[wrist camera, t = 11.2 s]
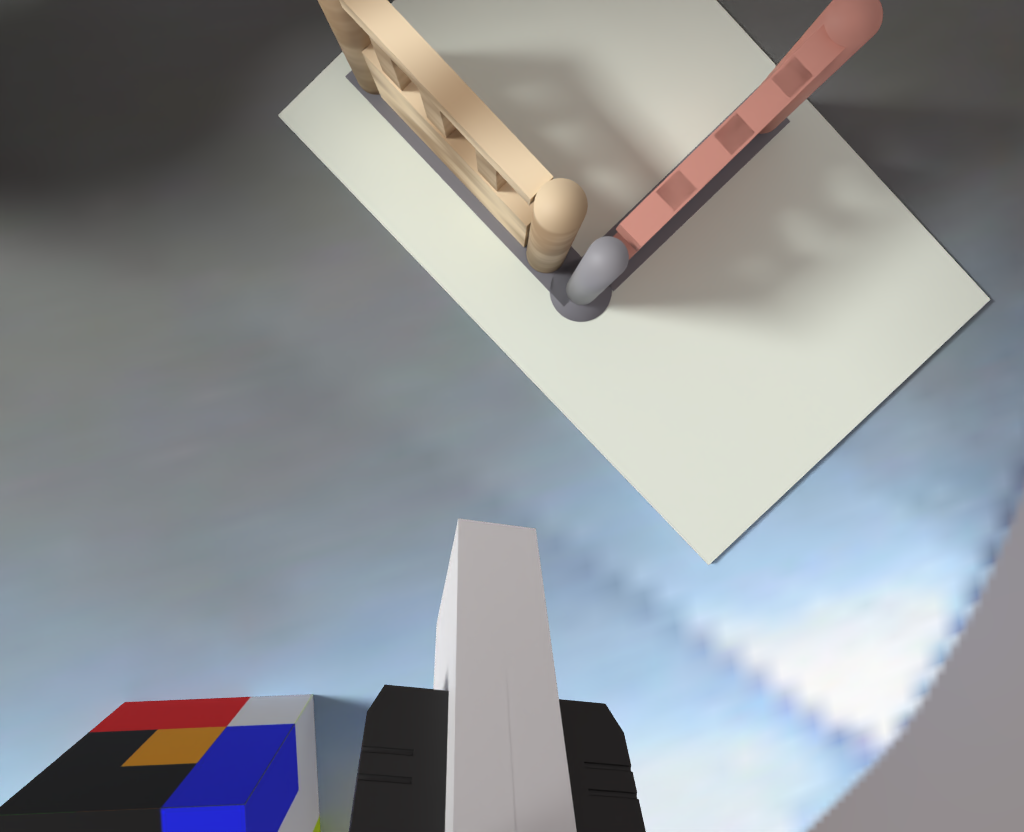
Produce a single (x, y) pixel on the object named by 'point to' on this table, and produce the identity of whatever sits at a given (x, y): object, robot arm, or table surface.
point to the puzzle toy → (182, 771)
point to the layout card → (661, 246)
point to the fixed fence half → (459, 128)
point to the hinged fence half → (732, 138)
